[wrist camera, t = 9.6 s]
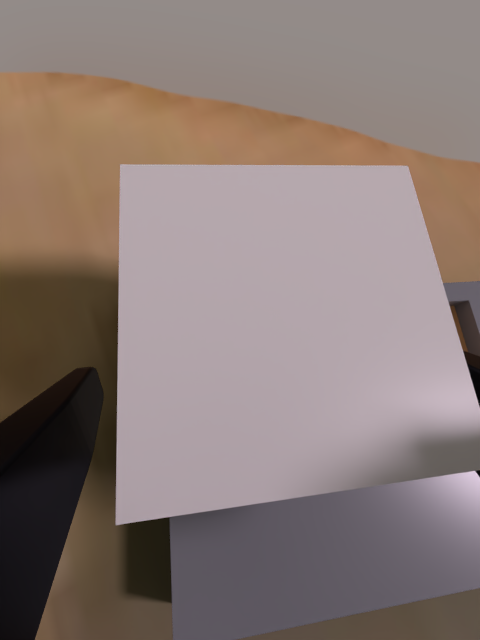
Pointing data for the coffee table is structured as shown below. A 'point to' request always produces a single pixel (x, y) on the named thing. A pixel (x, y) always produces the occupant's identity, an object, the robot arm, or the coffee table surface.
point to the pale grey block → (281, 338)
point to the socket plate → (329, 545)
